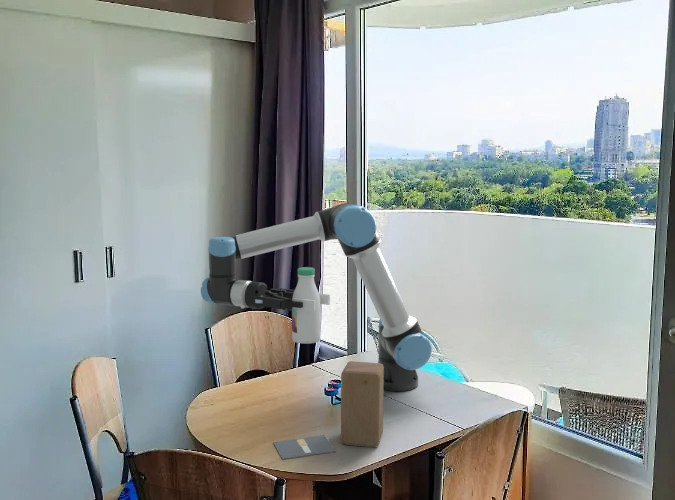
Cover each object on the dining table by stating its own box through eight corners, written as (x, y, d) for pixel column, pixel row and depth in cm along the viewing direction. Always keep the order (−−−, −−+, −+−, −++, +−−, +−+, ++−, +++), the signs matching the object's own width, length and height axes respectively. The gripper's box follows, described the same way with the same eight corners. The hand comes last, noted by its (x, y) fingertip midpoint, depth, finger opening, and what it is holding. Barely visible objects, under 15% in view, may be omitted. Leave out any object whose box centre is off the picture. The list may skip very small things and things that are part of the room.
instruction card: (324, 436, 171) (324, 434, 171) (336, 451, 161) (336, 450, 161) (273, 443, 166) (273, 441, 166) (282, 459, 157) (282, 458, 157)
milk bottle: (324, 338, 175) (324, 266, 173) (314, 345, 168) (314, 271, 165) (298, 335, 178) (298, 265, 175) (287, 342, 171) (287, 269, 168)
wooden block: (378, 449, 163) (379, 374, 160) (340, 445, 165) (340, 371, 162) (383, 433, 173) (384, 362, 170) (347, 430, 175) (347, 359, 172)
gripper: (270, 300, 189) (339, 308, 179) (229, 315, 171) (303, 324, 161) (270, 275, 188) (339, 282, 178) (228, 287, 170) (303, 295, 160)
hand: (322, 302), depth 169 cm, fingers closed on milk bottle, 8 cm apart
